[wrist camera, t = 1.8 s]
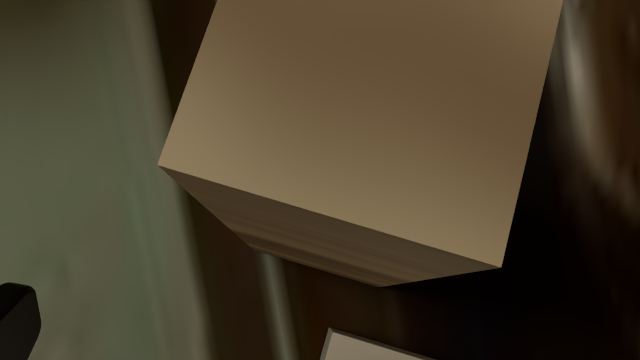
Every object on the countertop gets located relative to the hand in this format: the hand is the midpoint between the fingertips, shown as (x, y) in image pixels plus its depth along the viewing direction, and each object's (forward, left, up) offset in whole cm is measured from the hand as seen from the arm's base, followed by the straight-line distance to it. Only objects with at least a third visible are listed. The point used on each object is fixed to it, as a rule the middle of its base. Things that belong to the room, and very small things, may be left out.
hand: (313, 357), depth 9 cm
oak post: (+4, 0, -11) cm, 12 cm away
